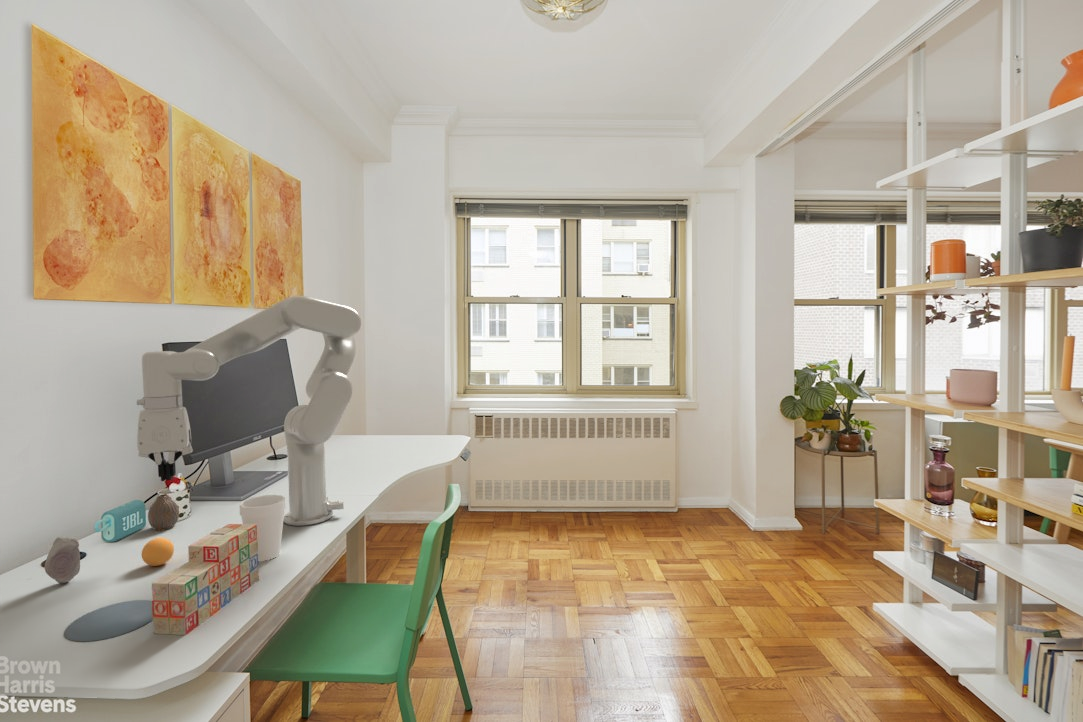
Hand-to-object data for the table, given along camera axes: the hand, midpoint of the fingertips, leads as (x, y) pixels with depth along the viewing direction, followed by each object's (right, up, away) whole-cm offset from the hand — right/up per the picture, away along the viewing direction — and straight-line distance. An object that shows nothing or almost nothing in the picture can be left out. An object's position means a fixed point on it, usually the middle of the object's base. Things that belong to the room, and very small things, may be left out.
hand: (167, 479), depth 133 cm
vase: (-11, -17, +16) cm, 25 cm away
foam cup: (+25, -17, -3) cm, 31 cm away
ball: (+3, -15, -8) cm, 17 cm away
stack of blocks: (+26, -19, -26) cm, 41 cm away
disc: (+12, -19, -31) cm, 39 cm away
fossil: (-10, -19, -17) cm, 27 cm away
